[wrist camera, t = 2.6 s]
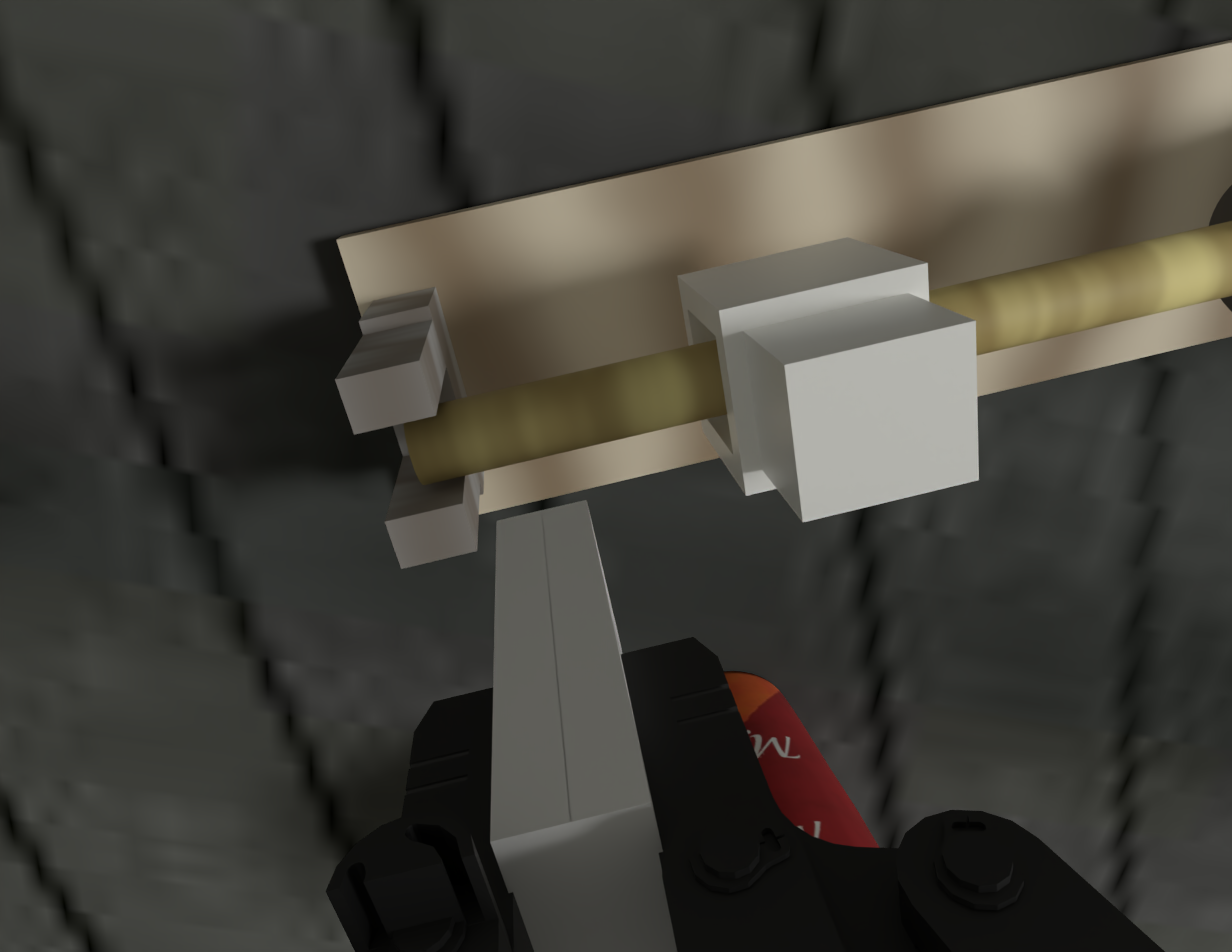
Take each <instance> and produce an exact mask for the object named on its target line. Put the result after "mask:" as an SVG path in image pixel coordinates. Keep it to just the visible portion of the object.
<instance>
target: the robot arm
mask: <svg viewBox="0 0 1232 952" xmlns="http://www.w3.org/2000/svg"><path fill="white" fill-rule="evenodd" d="M410 767H411V769H409V771H408V778H407V785H406V791H407V795H406V796H405V799H404V805H403V812H402V818H400V819H397V820H394V821H392V822H389V823H387V824H384V825H382V826H380V827H379V828H377V829H376V830H374V831H373V832H372V833H370V834H369V835H367V836H366V837H365V838H363V839H362V840H360V841H359V842H358V843H356V844H355V846H354V847H353V848H352V849H351V850H350V851H349V853H348V854H347V855H346V856H345V857H344V858H343V860H342V861H341V862H340V863H339V864H338V865H337V867H336V869H335V872H334V874H333V876H332V878H331V881H330V883H329V885H328V888H327V890H326V893H327V895H328V897H329V899H330V901H331V903H332V905H333V907H334V909H335V911H336V913H337V915H338V918H339V920H340V922H341V924H342V926H343V928H344V930H345V932H346V934H347V936H348V938H349V940H350V942H351V944H352V946H353V948H354V950H355V952H1165V951H1164V950H1162V949H1161V948H1160V947H1159V946H1158V945H1157V944H1156V943H1155V942H1153V941H1152V940H1151V939H1150V938H1149V937H1148V936H1147V935H1146V934H1145V933H1143V932H1142V931H1141V930H1140V929H1139V928H1138V927H1137V926H1136V925H1135V924H1133V923H1132V922H1131V921H1130V920H1129V919H1128V918H1127V917H1126V916H1125V915H1123V914H1122V913H1121V912H1120V911H1119V910H1118V909H1117V908H1116V907H1114V906H1113V905H1112V904H1111V903H1110V902H1109V901H1108V900H1107V899H1106V898H1104V897H1103V896H1102V895H1101V894H1100V893H1099V892H1098V891H1097V890H1096V889H1094V888H1093V887H1092V886H1091V885H1090V884H1089V883H1088V882H1087V881H1086V880H1084V879H1083V878H1082V877H1081V876H1080V875H1079V874H1078V873H1077V872H1075V871H1074V870H1073V869H1072V868H1071V867H1070V866H1069V865H1068V864H1067V863H1065V862H1064V861H1063V860H1062V859H1061V858H1060V857H1059V856H1058V855H1057V854H1055V853H1054V852H1053V851H1052V850H1051V849H1050V848H1049V847H1048V846H1046V845H1045V844H1044V843H1043V842H1042V841H1041V840H1040V839H1039V838H1037V837H1036V836H1034V835H1033V834H1031V833H1030V832H1028V831H1027V830H1025V829H1024V828H1022V827H1020V826H1019V825H1017V824H1016V823H1014V822H1013V821H1011V820H1008V819H1005V818H1001V817H998V816H995V815H992V814H989V813H986V812H983V811H965V810H949V811H946V812H943V813H939V814H936V815H932V816H929V817H925V818H924V819H922V820H921V821H920V822H919V823H917V824H916V825H915V826H914V827H912V828H911V829H910V830H909V831H907V832H906V833H905V835H904V838H903V840H902V842H901V844H900V847H899V849H897V848H875V847H855V846H848V845H841V844H834V843H830V842H828V841H825V840H822V839H819V838H816V837H814V836H811V835H810V834H808V833H806V832H805V831H803V830H802V829H800V828H798V827H797V826H795V825H794V824H793V823H792V822H791V821H790V820H789V819H788V818H787V817H786V816H785V815H784V814H783V813H782V812H781V810H780V808H779V807H778V805H777V803H776V802H775V800H774V798H773V796H772V793H771V791H770V788H769V786H768V783H767V780H766V778H765V775H764V773H763V770H762V768H761V765H760V763H759V760H758V758H757V755H756V753H755V750H754V748H753V745H752V742H751V740H750V737H749V735H748V732H747V730H746V727H745V725H744V722H743V720H742V717H741V715H740V712H739V711H738V708H737V704H736V702H735V699H734V697H733V694H732V692H731V689H730V688H729V685H728V682H727V679H726V677H725V674H724V671H723V669H722V666H721V664H720V661H719V659H718V656H716V655H715V654H714V653H713V652H711V651H710V650H709V649H708V648H706V647H705V646H704V645H703V644H701V643H700V642H699V641H698V640H696V639H695V638H694V637H691V638H687V639H683V640H679V641H674V642H670V643H666V644H662V645H658V646H654V647H649V648H645V649H641V650H637V651H633V652H628V653H624V654H622V649H621V645H620V640H619V636H618V631H617V627H616V623H615V619H614V615H613V610H612V606H611V602H610V598H609V593H608V589H607V585H606V581H605V576H604V572H603V568H602V564H601V559H600V555H599V551H598V547H597V542H596V538H595V534H594V530H593V525H592V521H591V517H590V513H589V508H588V504H587V500H584V501H580V502H576V503H571V504H567V505H563V506H558V507H554V508H550V509H545V510H541V511H537V512H533V513H528V514H524V515H520V516H515V517H511V518H507V519H502V520H498V521H497V528H496V578H495V627H494V677H493V688H489V689H485V690H481V691H476V692H472V693H468V694H464V695H460V696H455V697H451V698H447V699H443V700H439V701H434V702H433V704H432V705H431V707H430V708H429V710H428V711H427V713H426V714H425V716H424V718H423V719H422V721H421V722H420V724H419V725H418V727H417V729H416V730H415V732H414V737H413V744H412V751H411V758H410Z"/></svg>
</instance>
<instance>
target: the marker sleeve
mask: <svg viewBox="0 0 1232 952" xmlns="http://www.w3.org/2000/svg"><path fill="white" fill-rule="evenodd" d="M677 278H678V284H679V290H680V296H681V302H682V308H683V314H684V321H685V327H686V333H687V339H688V345H689V346H690V345H695V344H699V343H703V342H708V341H712V340H716V343H717V349H718V356H719V363H720V369H721V376H722V383H723V389H724V396H725V403H726V409H727V414H726V415H722V416H717V417H713V418H709V419H705V420H701V424H702V430H703V433H704V434H705V436H706V437H707V439H708V440H709V442H710V443H711V445H712V446H713V448H714V449H715V451H716V452H717V453H718V455H719V456H720V458H721V459H722V461H723V462H724V464H725V465H726V467H727V468H728V470H729V471H730V473H731V474H732V476H733V477H734V479H735V480H736V482H737V483H738V485H739V486H740V488H741V489H742V491H743V492H744V494H745V495H746V496H748V495H752V494H756V493H760V492H764V491H769V490H773V489H777V490H778V491H779V492H780V494H781V495H782V496H783V498H784V499H785V500H786V501H787V503H788V504H789V505H790V507H791V508H792V509H793V510H794V512H795V513H796V514H797V516H798V517H799V518H800V520H801V521H802V522H807V521H811V520H815V519H819V518H824V517H828V516H832V515H836V514H840V513H844V512H848V511H853V510H857V509H861V508H865V507H869V506H873V505H877V504H882V503H886V502H890V501H894V500H898V499H902V498H906V497H911V496H915V495H919V494H923V493H927V492H931V491H935V490H940V489H944V488H948V487H952V486H956V485H960V484H964V483H969V482H973V481H977V480H979V466H978V411H977V357H976V320H973V319H971V318H968V317H966V316H963V315H961V314H959V313H956V312H954V311H951V310H949V309H946V308H944V307H941V306H939V305H936V304H934V303H932V302H929V283H928V263H927V262H924V261H921V260H917V259H914V258H911V257H908V256H905V255H902V254H899V253H896V252H892V251H889V250H886V249H883V248H880V247H877V246H874V245H870V244H867V243H864V242H861V241H858V240H855V239H852V238H849V237H846V238H842V239H837V240H833V241H828V242H824V243H820V244H815V245H811V246H806V247H802V248H798V249H793V250H789V251H784V252H780V253H776V254H771V255H767V256H762V257H758V258H753V259H749V260H745V261H740V262H736V263H731V264H727V265H723V266H718V267H714V268H709V269H705V270H700V271H696V272H692V273H687V274H683V275H678V276H677Z"/></svg>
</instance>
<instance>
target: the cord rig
mask: <svg viewBox="0 0 1232 952" xmlns="http://www.w3.org/2000/svg"><path fill="white" fill-rule="evenodd" d="M846 237H849V238H852V239H855V240H858V241H861V242H864V243H867V244H870V245H874V246H877V247H880V248H883V249H886V250H889V251H892V252H896V253H899V254H902V255H905V256H908V257H911V258H914V259H917V260H921V261H924V262H927V263H928V283H929V302H932V303H934V304H936V305H939V306H941V307H944V308H946V309H949V310H951V311H954V312H956V313H959V314H961V315H963V316H966V317H968V318H971V319H973V320H976V357H977V396H982V395H986V394H990V393H994V392H999V391H1003V390H1007V389H1011V388H1015V387H1020V386H1024V385H1028V384H1032V383H1037V382H1041V381H1045V380H1049V379H1053V378H1058V377H1062V376H1066V375H1070V374H1075V373H1079V372H1083V371H1087V370H1091V369H1096V368H1100V367H1104V366H1108V365H1113V364H1117V363H1121V362H1125V361H1130V360H1134V359H1138V358H1142V357H1146V356H1151V355H1155V354H1159V353H1163V352H1168V351H1172V350H1176V349H1180V348H1184V347H1189V346H1193V345H1197V344H1201V343H1206V342H1210V341H1214V340H1218V339H1222V338H1227V337H1231V336H1232V40H1228V41H1224V42H1219V43H1215V44H1210V45H1206V46H1201V47H1197V48H1192V49H1188V50H1183V51H1178V52H1174V53H1169V54H1165V55H1160V56H1156V57H1151V58H1147V59H1142V60H1138V61H1133V62H1129V63H1124V64H1119V65H1115V66H1110V67H1106V68H1101V69H1097V70H1092V71H1088V72H1083V73H1079V74H1074V75H1070V76H1065V77H1060V78H1056V79H1051V80H1047V81H1042V82H1038V83H1033V84H1029V85H1024V86H1020V87H1015V88H1011V89H1006V90H1001V91H997V92H992V93H988V94H983V95H979V96H974V97H970V98H965V99H961V100H956V101H952V102H947V103H942V104H938V105H933V106H929V107H924V108H920V109H915V110H911V111H906V112H902V113H897V114H893V115H888V116H883V117H879V118H874V119H870V120H865V121H861V122H856V123H852V124H847V125H843V126H838V127H834V128H829V129H825V130H820V131H815V132H811V133H806V134H802V135H797V136H793V137H788V138H784V139H779V140H775V141H770V142H766V143H761V144H756V145H752V146H747V147H743V148H738V149H734V150H729V151H725V152H720V153H716V154H711V155H707V156H702V157H697V158H693V159H688V160H684V161H679V162H675V163H670V164H666V165H661V166H657V167H652V168H648V169H643V170H638V171H634V172H629V173H625V174H620V175H616V176H611V177H607V178H602V179H598V180H593V181H589V182H584V183H579V184H575V185H570V186H566V187H561V188H557V189H552V190H548V191H543V192H539V193H534V194H530V195H525V196H520V197H516V198H511V199H507V200H502V201H498V202H493V203H489V204H484V205H480V206H475V207H471V208H466V209H461V210H457V211H452V212H448V213H443V214H439V215H434V216H430V217H425V218H421V219H416V220H412V221H407V222H403V223H398V224H393V225H389V226H384V227H380V228H375V229H371V230H366V231H362V232H357V233H353V234H348V235H344V236H341V237H340V238H338V239H337V240H336V241H337V244H338V247H339V250H340V253H341V256H342V259H343V262H344V265H345V268H346V271H347V274H348V278H349V281H350V284H351V287H352V290H353V293H354V296H355V299H356V302H357V305H358V308H359V311H360V314H361V319H360V320H359V324H360V327H361V330H362V333H363V336H362V338H361V339H360V341H359V342H358V344H357V346H356V347H355V349H354V350H353V352H352V353H351V355H350V357H349V358H348V360H347V361H346V363H345V365H344V366H343V368H342V369H341V371H340V373H339V374H338V376H337V377H336V379H335V381H336V384H337V387H338V390H339V393H340V396H341V399H342V401H343V404H344V407H345V410H346V413H347V416H348V418H349V421H350V424H351V427H352V430H353V433H354V435H355V434H359V433H363V432H368V431H372V430H376V429H381V428H385V427H389V426H393V428H394V431H395V434H396V437H397V440H398V443H399V446H400V449H401V452H402V455H403V458H402V462H401V466H400V469H399V473H398V476H397V480H396V483H395V487H394V491H393V494H392V498H391V501H390V505H389V508H388V512H387V516H386V519H385V524H386V527H387V529H388V532H389V535H390V538H391V541H392V544H393V547H394V549H395V552H396V555H397V558H398V561H399V564H400V567H401V569H403V568H407V567H412V566H416V565H420V564H424V563H428V562H433V561H437V560H441V559H445V558H449V557H454V556H458V555H462V554H466V553H470V552H474V551H477V543H478V520H479V514H483V513H488V512H492V511H496V510H500V509H505V508H509V507H513V506H517V505H521V504H526V503H530V502H534V501H538V500H543V499H547V498H551V497H555V496H559V495H564V494H568V493H572V492H576V491H581V490H585V489H589V488H593V487H597V486H602V485H606V484H610V483H614V482H619V481H623V480H627V479H631V478H635V477H640V476H644V475H648V474H652V473H657V472H661V471H665V470H669V469H673V468H678V467H682V466H686V465H690V464H695V463H699V462H703V461H707V460H711V459H716V458H720V456H719V455H718V453H717V452H716V451H715V449H714V448H713V446H712V445H711V443H710V442H709V440H708V439H707V437H706V436H705V434H704V433H703V430H702V424H701V420H705V419H709V418H713V417H717V416H722V415H726V414H727V409H726V403H725V396H724V389H723V383H722V376H721V369H720V363H719V356H718V349H717V343H716V340H712V341H708V342H703V343H699V344H695V345H690V346H689V345H688V339H687V333H686V327H685V321H684V314H683V308H682V302H681V296H680V290H679V284H678V278H677V276H678V275H683V274H687V273H692V272H696V271H700V270H705V269H709V268H714V267H718V266H723V265H727V264H731V263H736V262H740V261H745V260H749V259H753V258H758V257H762V256H767V255H771V254H776V253H780V252H784V251H789V250H793V249H798V248H802V247H806V246H811V245H815V244H820V243H824V242H828V241H833V240H837V239H842V238H846Z"/></svg>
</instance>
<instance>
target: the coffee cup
mask: <svg viewBox="0 0 1232 952" xmlns="http://www.w3.org/2000/svg"><path fill="white" fill-rule="evenodd" d="M724 674H725V677H726V679H727V682H728V685H729V688H730V689H731V692H732V694H733V697H734V699H735V702H736V704H737V708H738V711H739V712H740V715H741V717H742V720H743V722H744V725H745V727H746V730H747V732H748V735H749V737H750V740H751V742H752V745H753V748H754V750H755V753H756V755H757V758H758V760H759V763H760V765H761V768H762V770H763V773H764V775H765V778H766V780H767V783H768V786H769V788H770V791H771V793H772V796H773V798H774V800H775V802H776V803H777V805H778V807H779V808H780V810H781V812H782V813H783V814H784V815H785V816H786V817H787V818H788V819H789V820H790V821H791V822H792V823H793V824H794V825H795V826H797V827H798V828H800V829H802V830H803V831H805V832H806V833H808V834H810V835H811V836H814V837H816V838H819V839H822V840H825V841H828V842H830V843H834V844H841V845H848V846H855V847H875V848H879V846H878V845H877V843H876V841H875V840H874V838H873V836H872V834H871V833H870V831H869V829H868V828H867V826H866V824H865V823H864V821H863V819H862V817H861V816H860V814H859V812H858V811H857V809H856V808H855V806H854V804H853V803H852V801H851V800H850V798H849V797H848V795H847V794H846V792H845V791H844V789H843V788H842V786H841V784H840V783H839V781H838V780H837V778H836V777H835V775H834V774H833V772H832V771H831V769H830V768H829V766H828V764H827V763H826V761H825V759H824V758H823V756H822V755H821V753H820V751H819V750H818V748H817V747H816V745H815V743H814V742H813V740H812V739H811V737H810V735H809V734H808V732H807V731H806V729H805V727H804V726H803V724H802V723H801V721H800V720H799V718H798V716H797V715H796V713H795V712H794V710H793V709H792V707H791V706H790V704H789V703H788V702H787V700H786V699H785V697H784V696H783V695H782V693H781V692H780V691H779V690H778V689H777V688H776V687H775V686H774V685H773V684H772V683H770V682H769V681H767V680H766V679H764V678H762V677H759V676H757V675H754V674H750V673H746V672H736V671H729V672H724Z"/></svg>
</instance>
